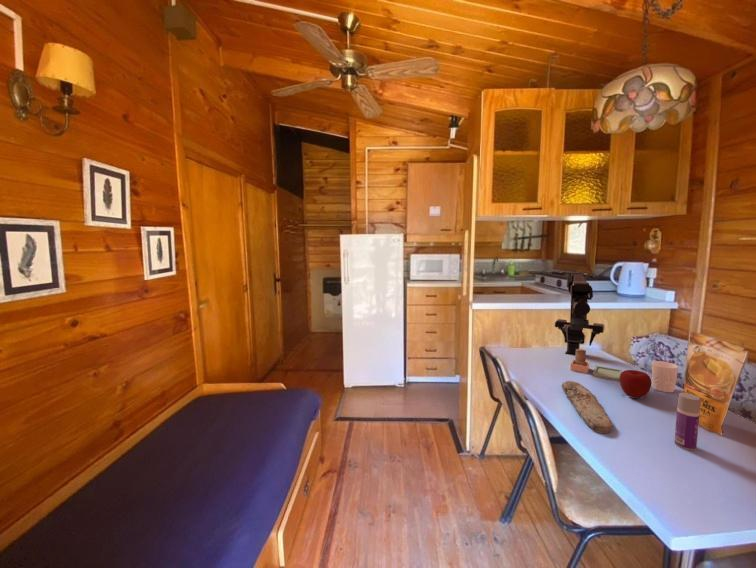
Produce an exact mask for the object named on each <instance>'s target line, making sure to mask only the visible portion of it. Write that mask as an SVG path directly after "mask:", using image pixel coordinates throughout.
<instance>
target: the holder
mask: <svg viewBox="0 0 756 568" xmlns="http://www.w3.org/2000/svg"><path fill="white" fill-rule="evenodd" d="M590 365H591V363H590V362H589V361H585V366H583V365H577V364H575V359H572V360H571V362H570V368H569V369H570V371H573V372H577V373H583V374H584V373H585V374H588V373H589V371H590Z"/></svg>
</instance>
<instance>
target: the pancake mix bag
mask: <svg viewBox="0 0 756 568" xmlns="http://www.w3.org/2000/svg"><path fill="white" fill-rule="evenodd" d="M687 334H688V335H687V336H688V337H687V350H686V357H685V366H684V382H683V383H684V386H683V393H689V394H693V395H696V396H698V397H700V413H699V425H698V427H699V426H700V428H702V429H704V430H705V431H707V432H710V433H714V434H717V435H720V436H723V434H724V431H723V428H722V427H723V423H724V420H725V417H726V415H727V412H728V409H729V406H730V404H731V400H732V399H733V396H734V393H735V390H736V387H737V386H738V384H739V380H740V378H741V375H742V372H743V370H744V368H745V365H746V364H747V362H748V359H749V351H748V350H747V349H746V348H745V347H743V346H742V345H739V344H737V343H734V342H729V341H725V340H722V339H719V338H717V337H714V336H711V335H707V334H704V333H702V332H697V331H689V332H687Z"/></svg>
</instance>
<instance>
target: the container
mask: <svg viewBox="0 0 756 568" xmlns="http://www.w3.org/2000/svg"><path fill="white" fill-rule="evenodd" d="M699 413H700V397H698V396H696V395H693V394H689V393H684V392H679V393H678V401H677V408H676V418H675V419H676V420H675V428H674V429H675V432H674V441H673V442H674V444H675V446H676V447H678V448H681V449H683V450H686V451H697V445H698V436H699V434H698V433H699Z"/></svg>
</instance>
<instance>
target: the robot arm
mask: <svg viewBox="0 0 756 568" xmlns="http://www.w3.org/2000/svg"><path fill="white" fill-rule="evenodd" d="M584 275H585V274H584V272H571V275H569V276H568V277H567V278H566V288H567V291H568V293H569V294H570V310H569V311H570V313H569V314H570V315H569V317H570V318H569V321H568V320H567V319H560V318H559V319H556V320H555V322H554V327H555V328H557V329H558V330H560V332H562V335H563V337H564V339H563V341H564V343H565V344H566V351H565V353H564V354H565V355H570V356H575V354H576V349H581V347H580V345H584V344H585V341H586V340H585V339H586V335H585V332H583V330H584V329H586V330H587V329H588V330H591V333H590V338H589V343H588V344H589V347H591V346H592V344H593V341H594V339H595V337H596V336H597V335H600V333H601V334H604V331H605V325H604V323H598V322H597V323H596V322H593V324H590V321H589V320H590V319H588V314H590V312H591V306H590V304H589V303H588V302H589V300H590V301H591V300H592V299H593V297H594V292H593V287H592V285H590V283H589V282H588V281H587V277H585V276H584Z"/></svg>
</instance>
